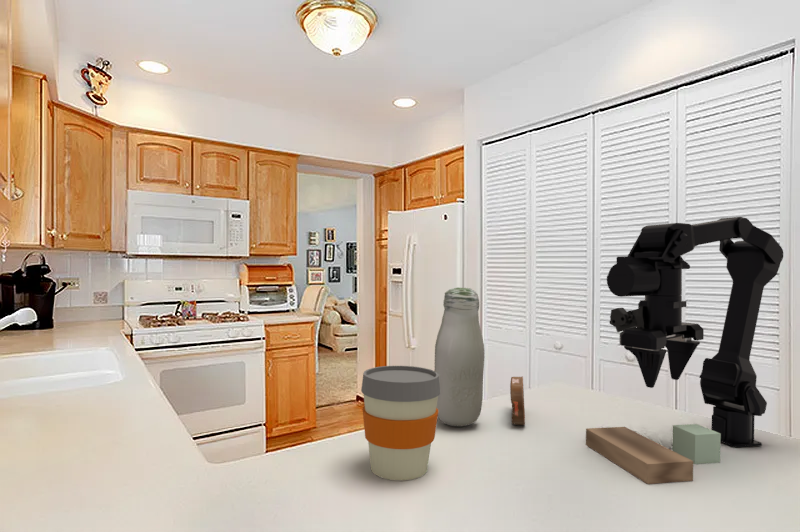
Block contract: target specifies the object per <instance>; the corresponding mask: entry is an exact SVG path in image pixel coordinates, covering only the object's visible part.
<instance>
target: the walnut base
mask: <svg viewBox="0 0 800 532" xmlns="http://www.w3.org/2000/svg"><path fill="white" fill-rule="evenodd" d="M585 446H587V447H588V448H590V449H592V450H593V451H595V452H596V453H598V454H600V455H601V456H602V457H604V458H605V459H607V460H609V461H610V462H612V463H613V464H615V465H616V466H618V467H620V468H622V469H623V470H624V471H626V472H628V473H629V474H631V475H632V476H634V477H636V478H637V479H639V480H640V481H642V482H643V483H645V484H646V485H653V484H664V483H665V484H667V483H680V482H690V481H691V482H693V480H694V464H693V461H692V460H690V459H688V458H686V457H684V456H682V455H680V454H678V453H676V452H674V451H672V449H670V448H668V447H666V446H664V445H662V444H660V443H658V442H656V441H654V440H652V439H650V438H649V437H646V436H644V435H643V434H640V433H639V432H636V431H634V430H632V429H631V428H629V427H626V426H611V427H595V428H593V427H592V428H591V427H590V428H588V427H587V428H585Z"/></svg>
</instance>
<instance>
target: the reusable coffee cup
mask: <svg viewBox="0 0 800 532" xmlns="http://www.w3.org/2000/svg"><path fill="white" fill-rule="evenodd" d="M362 375H363V376H362V380H361V381H362V383H361V387H360V388H361V393H362V394H363V402H364V403H363V404H364V406H363V407H362V409H361V410H362V417H363V428H364V437H365V439H366V441H367V442H368V443H367V444H368V451H369V462H370V469H371V472H372V473H373V474H374V475H376V476H377V477H379V478H382V479H385V480H389V481H390V480H391V481H401V482H402V481H411V480H416V479H419V478H421V477H423V476H425V474H427V471H428V467H429V460H430V452H431V446H432V443H433V442H434V440H435V437H436V432H437V431H436V430H437V424H438V423H437V422H438V419H439V418H438V409H437V408H436V406H437V400H438V396H439V395H440V382H439V374H438V373H437V372H436V371H434V370H433V369H432V368H431V369H430V368H426V367H419V366H412V365H411V366H410V365H383V366H376V367H371V368H370V367H369V369H366V370H364V371H363V372H362Z"/></svg>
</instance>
